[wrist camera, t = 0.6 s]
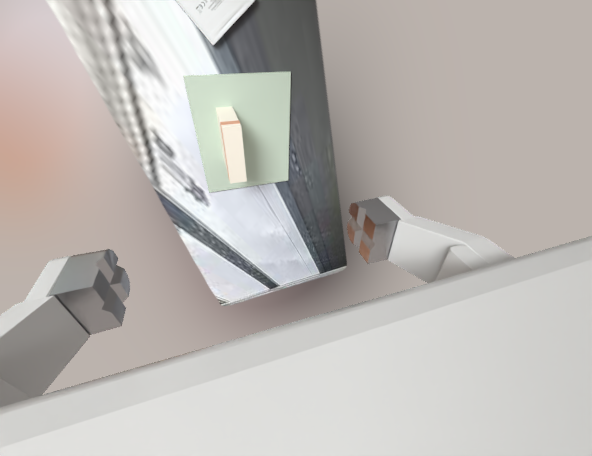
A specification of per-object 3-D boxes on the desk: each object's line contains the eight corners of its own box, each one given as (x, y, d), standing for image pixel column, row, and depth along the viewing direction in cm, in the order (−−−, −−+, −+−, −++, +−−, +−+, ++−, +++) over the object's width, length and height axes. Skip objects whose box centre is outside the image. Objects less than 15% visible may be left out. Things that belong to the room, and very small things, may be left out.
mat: (183, 75, 38) (183, 76, 38) (290, 71, 42) (290, 72, 42) (208, 191, 52) (209, 192, 51) (287, 179, 56) (288, 180, 55)
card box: (215, 107, 42) (221, 127, 36) (232, 106, 42) (241, 125, 37) (223, 159, 48) (230, 184, 42) (238, 158, 48) (247, 181, 43)
